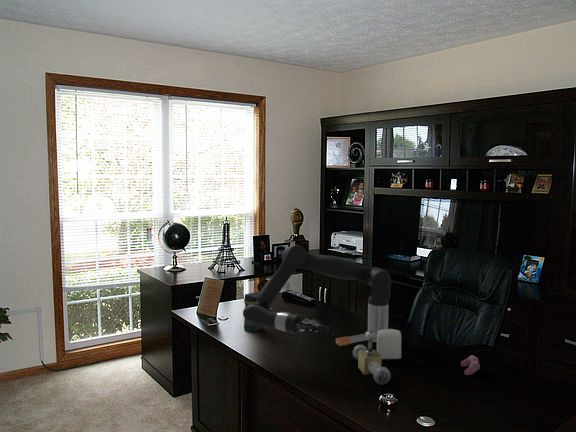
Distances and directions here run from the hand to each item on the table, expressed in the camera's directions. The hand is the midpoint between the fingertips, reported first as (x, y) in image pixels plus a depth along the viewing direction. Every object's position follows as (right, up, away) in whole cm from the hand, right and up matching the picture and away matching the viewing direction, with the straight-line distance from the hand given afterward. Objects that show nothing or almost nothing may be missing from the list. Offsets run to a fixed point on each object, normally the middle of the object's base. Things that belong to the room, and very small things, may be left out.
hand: (328, 329), depth 185 cm
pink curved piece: (+57, -18, +5) cm, 60 cm away
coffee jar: (-32, -13, +53) cm, 63 cm away
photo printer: (+27, -16, +18) cm, 36 cm away
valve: (+17, -17, +5) cm, 25 cm away
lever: (+11, -5, +1) cm, 12 cm away
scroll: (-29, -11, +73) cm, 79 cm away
